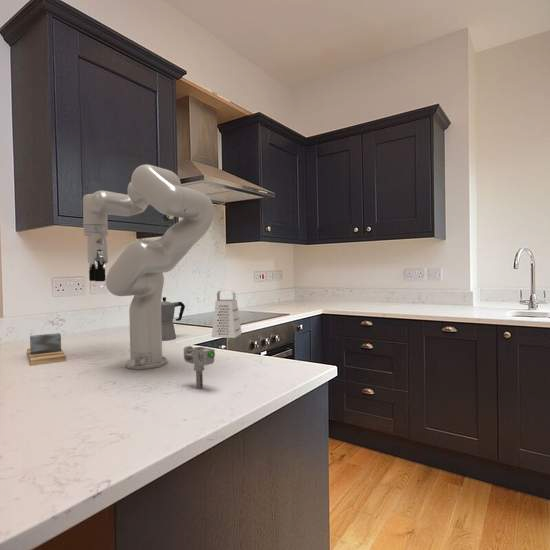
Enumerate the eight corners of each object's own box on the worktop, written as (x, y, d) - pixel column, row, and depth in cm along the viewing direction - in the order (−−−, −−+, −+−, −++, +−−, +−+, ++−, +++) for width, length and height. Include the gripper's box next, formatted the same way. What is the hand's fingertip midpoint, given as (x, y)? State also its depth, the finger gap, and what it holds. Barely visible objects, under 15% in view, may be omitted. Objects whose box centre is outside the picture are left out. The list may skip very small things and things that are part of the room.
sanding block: (59, 349, 139) (59, 333, 139) (61, 351, 136) (60, 334, 136) (30, 353, 134) (30, 335, 134) (31, 354, 131) (30, 337, 131)
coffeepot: (151, 342, 158) (150, 298, 158) (147, 338, 167) (146, 297, 166) (188, 338, 165) (187, 296, 165) (182, 335, 174) (181, 295, 173)
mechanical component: (191, 382, 101) (190, 344, 101) (217, 390, 94) (217, 349, 94) (182, 385, 99) (181, 346, 98) (208, 393, 92) (207, 351, 92)
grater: (234, 337, 165) (233, 291, 165) (211, 337, 167) (210, 291, 167) (241, 333, 176) (240, 289, 175) (219, 333, 178) (218, 290, 177)
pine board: (66, 360, 128) (66, 356, 128) (30, 365, 123) (30, 360, 123) (58, 348, 148) (57, 345, 148) (27, 352, 142) (27, 348, 142)
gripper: (113, 229, 127) (114, 281, 127) (102, 233, 141) (103, 280, 141) (88, 228, 123) (89, 281, 123) (79, 232, 137) (81, 280, 137)
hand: (97, 281), depth 132 cm, fingers open, 9 cm apart
